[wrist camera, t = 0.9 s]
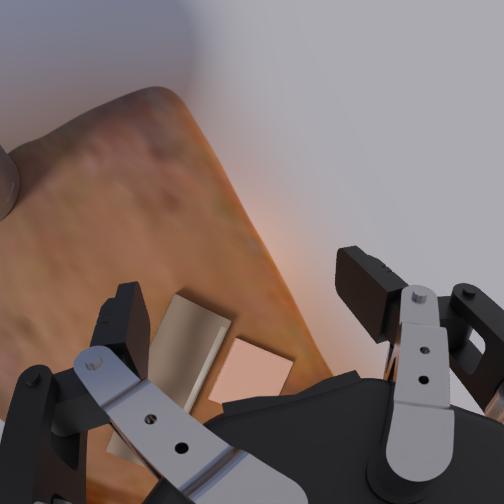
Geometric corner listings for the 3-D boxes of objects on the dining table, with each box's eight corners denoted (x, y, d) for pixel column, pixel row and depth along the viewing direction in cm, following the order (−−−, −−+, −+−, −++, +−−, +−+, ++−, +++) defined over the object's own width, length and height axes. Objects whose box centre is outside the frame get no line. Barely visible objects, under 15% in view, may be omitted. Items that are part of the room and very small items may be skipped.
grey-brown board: (106, 447, 28) (105, 451, 27) (174, 293, 34) (175, 293, 33) (160, 468, 30) (161, 472, 29) (229, 320, 36) (231, 321, 35)
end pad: (207, 397, 33) (208, 399, 33) (235, 337, 36) (236, 337, 35) (266, 417, 35) (267, 419, 35) (291, 361, 37) (293, 362, 37)
